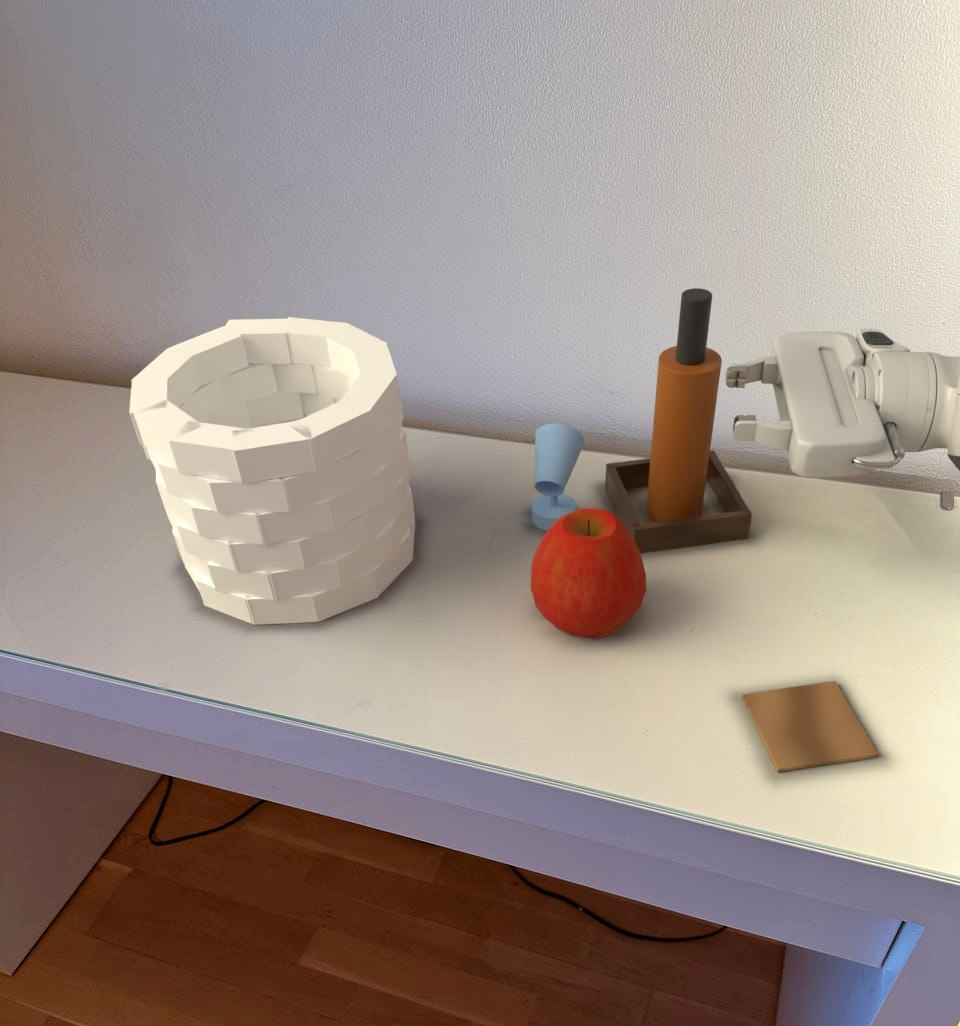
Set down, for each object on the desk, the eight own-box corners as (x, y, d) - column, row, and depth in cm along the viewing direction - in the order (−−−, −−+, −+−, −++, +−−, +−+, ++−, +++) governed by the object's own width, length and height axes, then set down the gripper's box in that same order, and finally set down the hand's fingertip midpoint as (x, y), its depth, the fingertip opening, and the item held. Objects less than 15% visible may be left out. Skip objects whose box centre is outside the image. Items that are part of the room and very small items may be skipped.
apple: (553, 566, 93) (553, 475, 86) (657, 588, 90) (666, 496, 83) (515, 634, 86) (512, 541, 79) (626, 661, 83) (633, 567, 76)
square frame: (710, 473, 103) (713, 449, 101) (748, 538, 95) (752, 514, 92) (604, 487, 102) (605, 463, 100) (633, 554, 94) (635, 529, 92)
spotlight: (538, 494, 102) (524, 533, 97) (537, 410, 95) (521, 448, 90) (584, 499, 101) (572, 538, 96) (586, 414, 94) (573, 453, 89)
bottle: (692, 493, 101) (718, 277, 85) (708, 524, 97) (739, 304, 81) (639, 500, 100) (656, 284, 84) (654, 532, 96) (674, 312, 80)
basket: (413, 620, 88) (389, 443, 75) (157, 631, 89) (90, 457, 76) (423, 468, 107) (405, 304, 94) (211, 478, 107) (163, 317, 94)
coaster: (834, 683, 80) (835, 680, 80) (877, 757, 74) (878, 753, 74) (741, 697, 79) (742, 694, 79) (777, 772, 74) (778, 769, 73)
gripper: (900, 497, 82) (734, 494, 83) (858, 379, 96) (718, 378, 98) (919, 433, 77) (744, 430, 79) (873, 319, 92) (726, 319, 94)
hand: (729, 400), depth 89 cm, fingers open, 8 cm apart
